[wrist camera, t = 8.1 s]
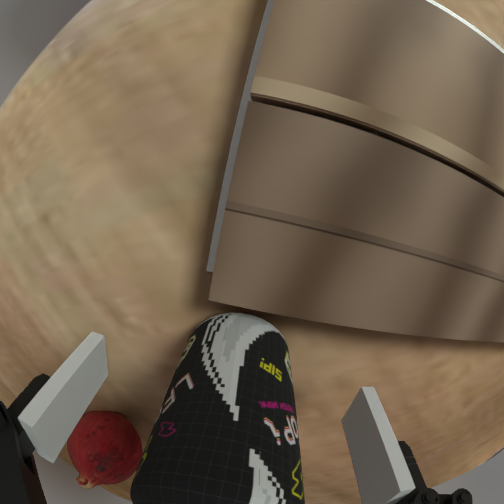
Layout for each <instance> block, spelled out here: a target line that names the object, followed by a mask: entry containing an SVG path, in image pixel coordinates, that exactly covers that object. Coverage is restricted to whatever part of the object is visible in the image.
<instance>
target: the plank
mask: <svg viewBox="0 0 504 504" xmlns="http://www.w3.org/2000/svg"><path fill="white" fill-rule="evenodd" d="M250 96H251V100H252V101H254V102H259V103H264V104H269V105H274V106H279V107H283V108H287V109H292V110H296V111H300V112H304V113H308V114H311V115H315V116H319V117H322V118H326V119H329V120H333V121H336V122H339V123H343V124H346V125H349V126H352V127H355V128H358V129H361V130H364V131H367V132H370V133H372V134H375V135H378V136H381V137H383V138H386V139H388V140H391V141H394V142H396V143H399V144H401V145H404V146H406V147H408V148H411V149H413V150H415V151H418V152H420V153H422V154H424V155H427V156H429V157H431V158H433V159H435V160H437V161H440V162H442V163H444V164H446V165H448V166H450V167H452V168H454V169H456V170H458V171H460V172H461V173H463V174H465V175H467V176H469V177H471V178H473V179H474V180H476V181H478V182H480V183H481V184H483V185H485V186H487V187H488V188H490V189H492V190H493V191H495V192H497V193H498V194H500V195H501V196H503V197H504V53H502V52H501V51H500V50H499V49H498V48H496V47H495V46H494V45H493V44H491V43H490V42H489V41H488V40H486V39H485V38H484V37H482V36H481V35H480V34H478V33H477V32H476V31H474V30H473V29H471V28H470V27H469V26H467V25H466V24H464V23H463V22H461V21H460V20H458V19H457V18H455V17H454V16H452V15H450V14H449V13H447V12H445V11H444V10H442V9H440V8H439V7H437V6H435V5H433V4H432V3H430V2H428V1H426V0H274V3H273V6H272V10H271V14H270V18H269V21H268V25H267V29H266V33H265V36H264V40H263V44H262V48H261V52H260V56H259V60H258V64H257V68H256V72H255V76H254V80H253V84H252V88H251V93H250Z"/></svg>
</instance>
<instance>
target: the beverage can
mask: <svg viewBox="0 0 504 504" xmlns="http://www.w3.org/2000/svg"><path fill="white" fill-rule="evenodd" d="M130 496H131V499H132V502H133V504H305V501H304V489H303V477H302V467H301V456H300V446H299V436H298V427H297V417H296V408H295V399H294V390H293V382H292V373H291V365H290V357H289V350H288V346H287V343H286V341H285V339H284V337H283V336H282V334H281V333H280V332H279V330H278V329H276V328H275V327H274V326H273V325H272V324H270V323H269V322H267V321H265V320H264V319H262V318H259V317H256V316H254V315H250V314H245V313H225V314H219V315H216V316H213V317H210V318H209V319H207V320H205V321H203V322H202V323H201V324H200V325H199V326H197V327H196V328H195V330H194V331H193V333H192V334H191V335H190V338H189V340H188V342H187V345H186V347H185V350H184V352H183V354H182V357H181V359H180V362H179V364H178V367H177V369H176V372H175V374H174V376H173V379H172V381H171V384H170V386H169V389H168V391H167V394H166V396H165V399H164V401H163V404H162V406H161V409H160V411H159V414H158V416H157V419H156V422H155V424H154V427H153V429H152V432H151V434H150V437H149V440H148V442H147V445H146V447H145V450H144V453H143V455H142V458H141V461H140V463H139V466H138V469H137V471H136V474H135V477H134V479H133V482H132V486H131V491H130Z"/></svg>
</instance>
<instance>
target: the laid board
mask: <svg viewBox="0 0 504 504" xmlns="http://www.w3.org/2000/svg"><path fill="white" fill-rule="evenodd" d="M208 300H210V301H215V302H219V303H224V304H228V305H233V306H238V307H242V308H247V309H252V310H257V311H262V312H267V313H272V314H277V315H283V316H288V317H293V318H299V319H304V320H310V321H316V322H322V323H328V324H334V325H340V326H347V327H353V328H360V329H367V330H374V331H382V332H389V333H397V334H406V335H414V336H424V337H433V338H444V339H455V340H468V341H483V342H501V343H504V197H502V196H501V195H499V194H497V193H496V192H494V191H492V190H491V189H489V188H487V187H486V186H484V185H482V184H480V183H479V182H477V181H475V180H473V179H471V178H470V177H468V176H466V175H464V174H462V173H460V172H458V171H456V170H454V169H453V168H451V167H449V166H446V165H444V164H442V163H440V162H438V161H436V160H434V159H432V158H430V157H427V156H425V155H423V154H421V153H419V152H416V151H414V150H412V149H409V148H407V147H404V146H402V145H400V144H397V143H395V142H392V141H389V140H387V139H384V138H381V137H379V136H376V135H373V134H371V133H368V132H365V131H362V130H359V129H356V128H353V127H350V126H347V125H344V124H340V123H337V122H334V121H330V120H327V119H324V118H320V117H316V116H313V115H309V114H305V113H301V112H297V111H293V110H289V109H285V108H280V107H276V106H271V105H266V104H261V103H256V102H251V101H248V105H247V110H246V114H245V118H244V122H243V127H242V131H241V136H240V140H239V145H238V149H237V154H236V158H235V163H234V168H233V172H232V177H231V182H230V187H229V192H228V197H227V201H226V205H225V211H224V217H223V222H222V227H221V232H220V237H219V243H218V248H217V253H216V259H215V264H214V270H213V276H212V281H211V287H210V293H209V299H208Z"/></svg>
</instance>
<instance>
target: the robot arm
mask: <svg viewBox="0 0 504 504" xmlns="http://www.w3.org/2000/svg"><path fill="white" fill-rule="evenodd" d="M107 377H108V368H107V358H106V347H105V336H104V335H101V334H98V333H95V332H91V333H90V334H89V335H88V336H87V337H86V338H85V340H84V341H83V342H82V343H81V344H80V345H79V346H78V347H77V348H76V349H75V350H74V352H73V353H72V354H71V355H70V356H69V357H68V358H67V359H66V360H65V362H64V363H63V364H62V365H61V366H60V367H59V368H58V370H57V371H56V372H55V373H54V374H53V375H52V377H49V376H47V375H46V374H44V373H43V374H41V375H39V376H37V377H35V378H34V379H33V380H32V381H31V382H30V383H29V385H28V386H27V387H26V388H25V389H24V391H23V392H22V393H21V394H20V395H19V396H18V397H17V398H16V399H15V401H14V402H13V403H12V404H11V405H10V407H9V408H8V409H6V407H5V405H4V404H3V402H2V401H0V504H47V502H46V499H45V496H44V493H43V490H42V487H41V483H40V480H39V477H38V472H37V469H36V464H35V460H34V456H33V454H32V453H33V451H34V450H35V449H36V451H37V452H38V454H39V455H40V456H41V457H43V458H45V459H46V460H48V461H50V462H52V463H54V462H55V460H56V458H57V456H58V455H59V453H60V451H61V450H62V448H63V446H64V445H65V443H66V441H67V440H68V438H69V436H70V435H71V433H72V431H73V430H74V428H75V426H76V425H77V423H78V422H79V420H80V418H81V417H82V415H83V414H84V412H85V410H86V409H87V407H88V406H89V404H90V403H91V401H92V400H93V398H94V396H95V395H96V393H97V392H98V390H99V389H100V387H101V386H102V384H103V383H104V381H105V380H106V378H107ZM341 421H342V425H343V429H344V432H345V436H346V440H347V444H348V447H349V451H350V455H351V459H352V463H353V467H354V471H355V475H356V479H357V483H358V487H359V491H360V496H361V500H362V504H472V495H471V494H470V492H469V491H468V490H466V489H463V488H462V489H458V490H456V491H455V492H454V493H452V494H438V493H437V492H436V491H435V490H433V489H431V488H427V487H426V485H425V482H424V480H423V477H422V475H421V472H420V470H419V467H418V465H417V464H416V460H415V458H414V457H413V453H412V451H411V449H410V447H409V446H408V445H407V444H406V443H405V442H404V441H398V442H397V439H396V437H395V434H394V432H393V430H392V427H391V425H390V423H389V420H388V418H387V416H386V413H385V411H384V409H383V407H382V404H381V402H380V400H379V398H378V395H377V393H376V391H375V389H374V387H361V388H360V390H359V392H358V394H357V395H356V397H355V399H354V400H353V402H352V404H351V405H350V407H349V409H348V410H347V412H346V414H345V415H344V417H343V418H342V420H341Z"/></svg>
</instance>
